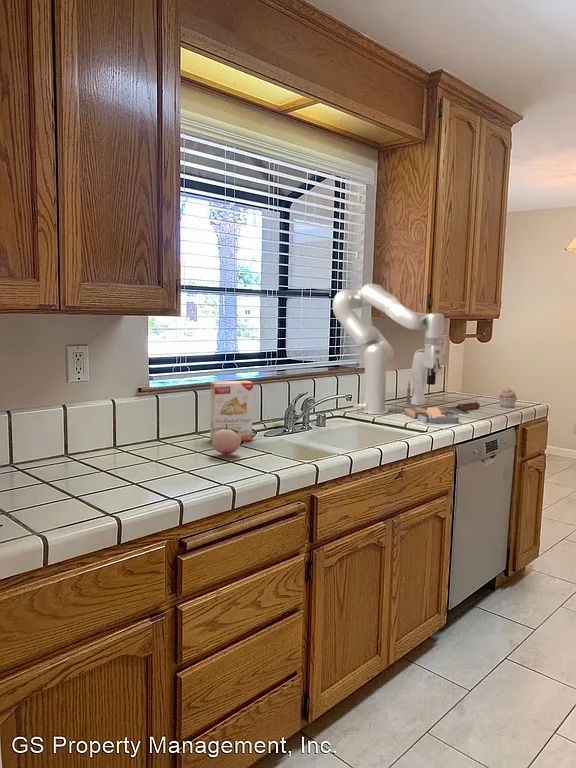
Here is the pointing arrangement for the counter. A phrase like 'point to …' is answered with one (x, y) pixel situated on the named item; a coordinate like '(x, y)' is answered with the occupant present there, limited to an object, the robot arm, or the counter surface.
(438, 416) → the tile front
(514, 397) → the cupcake
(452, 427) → the counter surface
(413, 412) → the board
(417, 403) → the skyscraper
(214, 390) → the cracker box
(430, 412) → the tile rear
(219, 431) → the decorative fruit
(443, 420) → the tray
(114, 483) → the counter surface
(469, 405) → the meat cleaver
